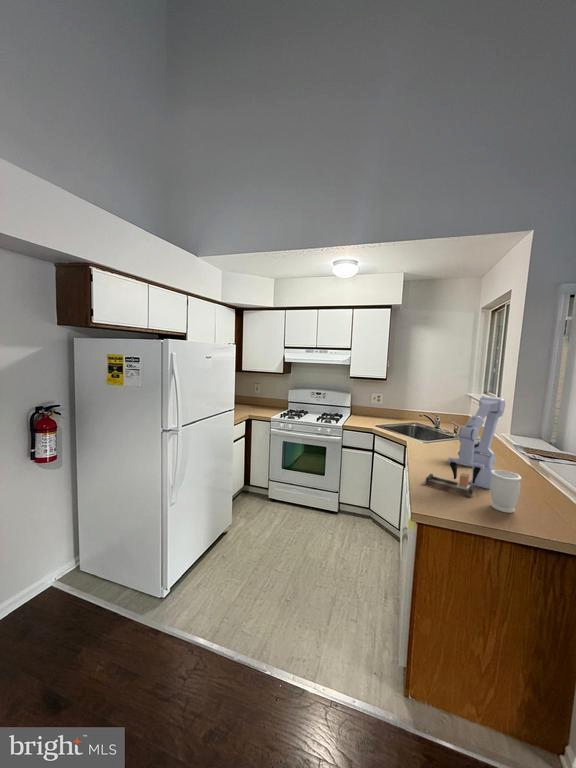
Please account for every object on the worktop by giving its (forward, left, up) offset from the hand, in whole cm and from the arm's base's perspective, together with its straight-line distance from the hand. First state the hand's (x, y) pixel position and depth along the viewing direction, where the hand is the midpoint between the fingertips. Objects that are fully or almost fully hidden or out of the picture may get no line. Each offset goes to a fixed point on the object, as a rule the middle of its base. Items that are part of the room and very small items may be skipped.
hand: (464, 480), depth 148 cm
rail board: (+6, 0, -6) cm, 8 cm away
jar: (-16, +6, -6) cm, 18 cm away
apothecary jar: (+6, -45, -6) cm, 46 cm away
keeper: (0, 0, -4) cm, 4 cm away
